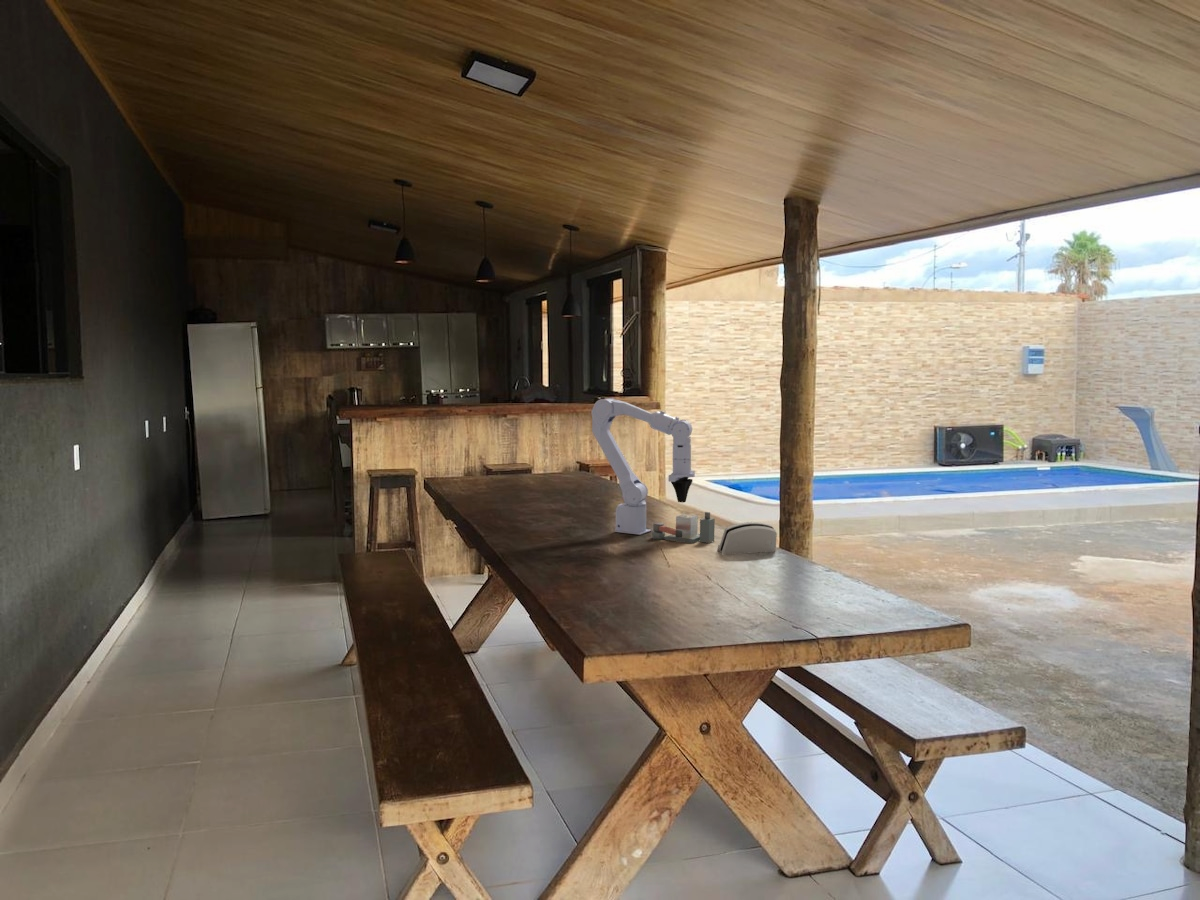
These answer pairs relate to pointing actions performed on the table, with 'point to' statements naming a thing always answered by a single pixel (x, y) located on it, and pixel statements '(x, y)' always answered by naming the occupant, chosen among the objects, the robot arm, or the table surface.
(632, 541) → the table surface
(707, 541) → the press
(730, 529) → the white arched thin slab
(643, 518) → the robot arm
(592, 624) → the table surface
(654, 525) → the lever
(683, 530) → the block
